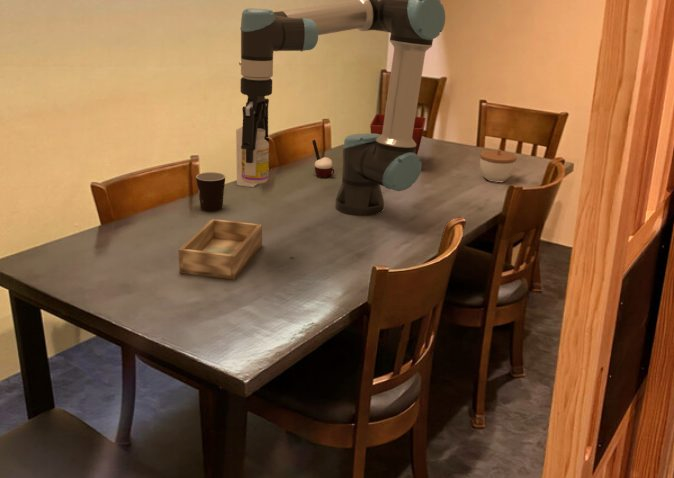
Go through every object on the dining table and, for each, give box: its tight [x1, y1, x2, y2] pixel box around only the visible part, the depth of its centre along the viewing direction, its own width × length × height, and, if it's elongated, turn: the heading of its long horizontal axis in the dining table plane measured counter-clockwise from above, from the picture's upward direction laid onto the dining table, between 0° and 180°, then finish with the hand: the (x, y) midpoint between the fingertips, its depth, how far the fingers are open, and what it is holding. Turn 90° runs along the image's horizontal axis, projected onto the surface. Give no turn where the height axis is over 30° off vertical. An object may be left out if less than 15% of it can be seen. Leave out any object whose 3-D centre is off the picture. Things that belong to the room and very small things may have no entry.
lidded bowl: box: [479, 149, 517, 181], centre depth 251 cm, size 13×13×11 cm
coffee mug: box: [195, 171, 226, 213], centre depth 212 cm, size 12×9×10 cm
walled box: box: [178, 218, 263, 281], centre depth 177 cm, size 14×22×6 cm, turn 169°
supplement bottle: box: [242, 128, 270, 185], centre depth 173 cm, size 7×7×13 cm
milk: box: [235, 125, 258, 188], centre depth 232 cm, size 6×6×22 cm
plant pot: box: [369, 113, 427, 156], centre depth 262 cm, size 19×19×17 cm
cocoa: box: [312, 139, 335, 179], centre depth 246 cm, size 10×6×12 cm, turn 32°
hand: (254, 170), depth 175 cm, fingers closed on supplement bottle, 7 cm apart
